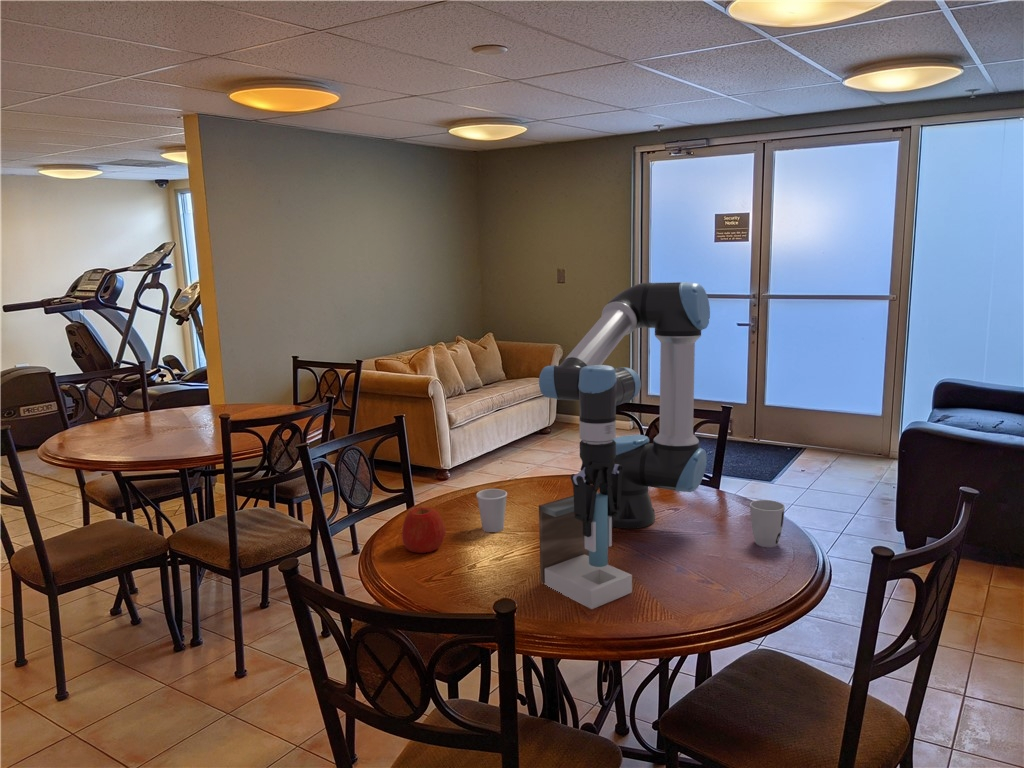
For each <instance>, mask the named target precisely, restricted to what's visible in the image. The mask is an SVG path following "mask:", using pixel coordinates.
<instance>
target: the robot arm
mask: <svg viewBox="0 0 1024 768" xmlns="http://www.w3.org/2000/svg"><path fill="white" fill-rule="evenodd" d="M710 317H711V309H710V302H709V297H708V294H707V292H706V290H705V288H704V287H703V286H702V285H701V284H700V283H697V282H687V281H686V282H685V281H680V282H678V281H677V282H641V283H638V284H635V285H632V286H630V287H627V288H626V289H624V290H623V291H621V292H619V293H618V294H616V295H615V296H614V297H612V298H611V299H610V300H609V301H608V303H607V304H605V306H604V307H603V309H602V310H601V316H600V318H599V319H598V320H597V321H596V322H595V323H594V325H593V326H592V327H591V328H590V329H589V330H588V332H587V333H586V334H584V336H583V337H582V338H581V339H580V341H579V342H578V343H577V345H575V347H573V349H572V350H571V351H570V353H569V354H567V356H566V357H565V358H564V360H563V361H561V363H560V364H559V365H555V364H553V365H547V366H544V367H543V368H542V369H541V372H540V374H539V378H538V387H539V391H540V393H541V394H542V395H543V397H545V398H547V399H555V400H558V401H559V400H561V401H574V402H575V401H577V402H578V403H579V405H578V406H579V424H578V425H579V426H578V427H579V435H578V436H579V437H578V438H579V439H580V441H579V458H580V460H581V467H580V471H579V472H578V473H576V474H574V473H573V474H571V475H570V480H571V483H572V489H573V495H574V517H575V519H578V520H581V521H582V522H583V535H584V536H585V549H587V550H589V551H592V552H596V522H595V521H593V515H594V508H595V501H596V494H597V493H598V491H599V493H603V494H606V495H608V547H609V548H610V547H612V545H613V540H612V539H613V538H612V537H613V531H612V530H613V529H614V528H616V529H617V528H619V529H627V530H629V529H641V528H645V527H649V526H650V525H652V524H654V523H655V522H656V512H655V509H654V508H653V503H652V500H651V496H650V493H649V490H650V489H649V488H655V489H661V490H667V491H669V490H670V491H673V492H674V491H675V492H677V493H680V492H681V493H682V492H683V493H693V492H695V491H696V490H697V489H699V486H700V485H701V483H702V480H703V478H704V475H705V472H706V467H707V457H708V456H707V452H706V450H705V449H703V448H701V447H700V446H699V445H700V441H699V438H698V437H696V435H694V412H695V411H694V408H695V407H694V405H695V403H694V401H695V391H694V390H695V361H696V360H695V356H696V353H695V351H696V348H695V347H696V342H697V341H698V340H699V339H700V338H701V337H702V331H703V330H706V329H707V328H708V327H709V324H710ZM640 328H648V329H649V328H650V329H654V337H655V338H656V339H657V340H658V341H659V342H660V360H659V361H660V365H659V367H660V368H659V371H660V372H659V430H658V431H659V433H657V434H656V436H655V437H654V438H653V442H652V443H651V442H650V437H648V436H647V435H644V434H630V435H628V434H627V435H622V436H618V437H617V435H616V434H617V433H616V432H617V430H616V429H617V428H616V427H617V425H616V424H617V423H616V422H617V421H616V420H617V413H616V412H617V406H619V405H622V404H626V403H629V402H631V401H632V400H634V399H635V398H636V397H637V396H638V395H639V393H640V391H641V389H642V387H641V386H642V383H641V382H642V381H641V378H640V375H639V374H638V373H637V372H636V371H635V370H634V369H632V368H630V367H617V368H614V366H611V365H606V364H604V362H605V361H606V360H607V358H608V357H609V356H610V355H611V353H612V352H613V351H614V349H615V348H616V347H617V346H618V345H619V344H620V342H621V341H622V339H623V338H624V337H625V336H628V335H630V334H631V333H633V332H634V331H635V330H637V329H640ZM587 515H588V516H587Z"/></svg>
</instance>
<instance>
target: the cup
mask: <svg viewBox="0 0 1024 768" xmlns="http://www.w3.org/2000/svg"><path fill="white" fill-rule="evenodd" d="M749 508H750V523H751V530H752V531H751V532H752V535H753V538H754V541H755V544H756V545H757V546H759V547H763V548H775V547H777V546H778V544H779V540H780V539H781V535H782V530H783V527H784V526H783V525H784V520H785V510H786V509H785V508H786V506H785V504H783V502H779V501H776V500H768V499H756V500H753V501H751V502H750V503H749Z"/></svg>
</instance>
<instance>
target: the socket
mask: <svg viewBox="0 0 1024 768" xmlns="http://www.w3.org/2000/svg"><path fill="white" fill-rule="evenodd" d="M545 585H547V586H548V588H549V587H550V588H549V589H551V588H552V589H551V590H553V589H554V590H553V591H555V590H556V591H555V592H557V591H558V592H557V593H559V592H560V593H559V594H561V593H562V594H561V595H563V596H565V597H566V598H568V597H569V599H571V600H573V601H574V602H577V604H578V603H579V604H580V605H583V606H584V607H586V608H588V609H590V610H594V609H596V608H598V607H601V606H604V605H605V604H608V603H610V602H613V601H615V600H617V599H620V598H622V597H625V596H627V595H629V594H631V593H633V574H631V573H629V572H627V571H624V570H622V569H619V568H617V567H615V566H613V565H610V564H609V563H608V564H607V565H606V566H603V567H595V566H591V565H590V564H589V556H587V555H585V554H584V555H581V556H578V557H575V558H572V559H570V560H567V561H564V562H561V563H559V564H556V565H553V566H550V567H547V568H545V584H544V586H545ZM547 586H546V587H547Z"/></svg>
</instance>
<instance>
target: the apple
mask: <svg viewBox="0 0 1024 768" xmlns="http://www.w3.org/2000/svg"><path fill="white" fill-rule="evenodd" d="M401 534H402V542H403V545H404V547H405V548H406V549H407V550H408V551H409V552H411V553H417V554H426V552H427V553H431V552H433V551H436V550H437V549H439V548H440V546H441V545H442V544H443V541H444V540H445V539H444V538H445V536H446V525H445V523H444V521H443V518H442V517H441V515H440V513H439V512H438V511H436V510H435V509H433V508H431V507H425V506H423V507H415V508H413V509H411V510H409V512H408V513H407V514H406V516H405V517H404V521H403V525H402V533H401Z"/></svg>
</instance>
